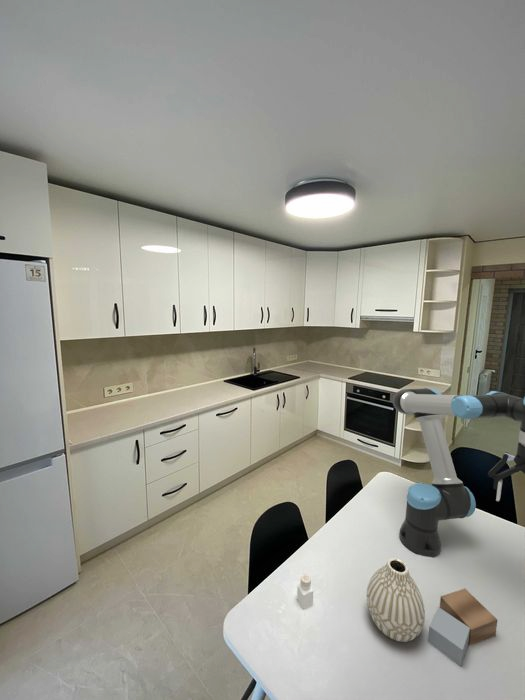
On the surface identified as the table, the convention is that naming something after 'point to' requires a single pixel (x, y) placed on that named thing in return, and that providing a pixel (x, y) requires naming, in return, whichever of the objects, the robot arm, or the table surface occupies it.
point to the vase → (395, 602)
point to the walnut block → (470, 615)
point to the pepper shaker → (305, 592)
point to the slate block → (449, 635)
